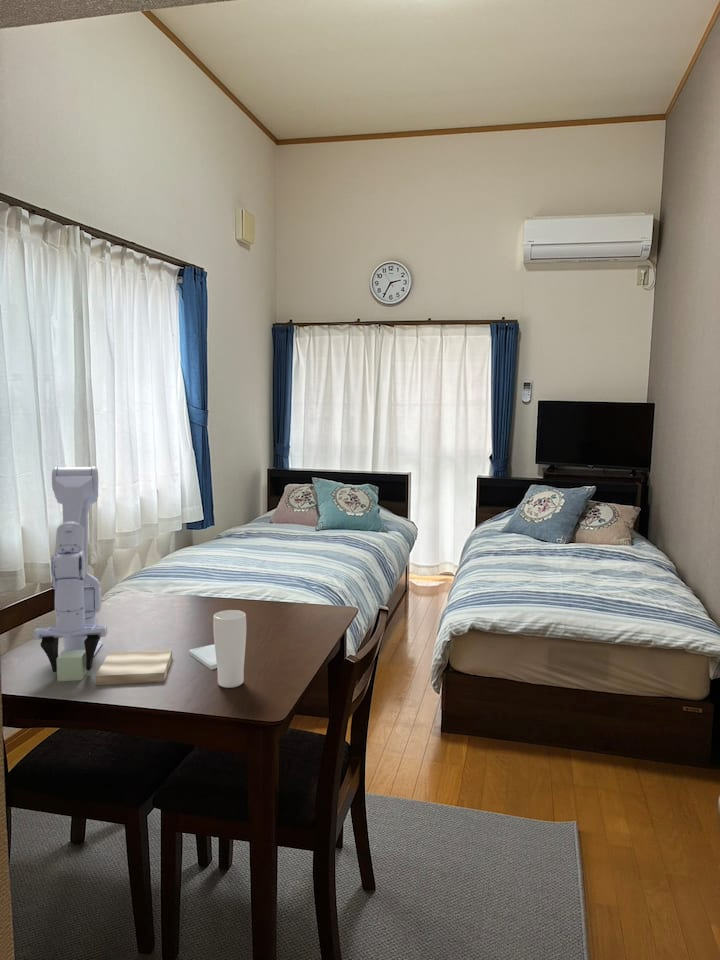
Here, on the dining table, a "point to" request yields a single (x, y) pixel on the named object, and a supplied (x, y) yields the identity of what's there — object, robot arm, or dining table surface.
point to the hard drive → (205, 655)
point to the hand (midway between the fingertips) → (72, 669)
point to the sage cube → (71, 665)
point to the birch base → (134, 667)
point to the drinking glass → (230, 646)
